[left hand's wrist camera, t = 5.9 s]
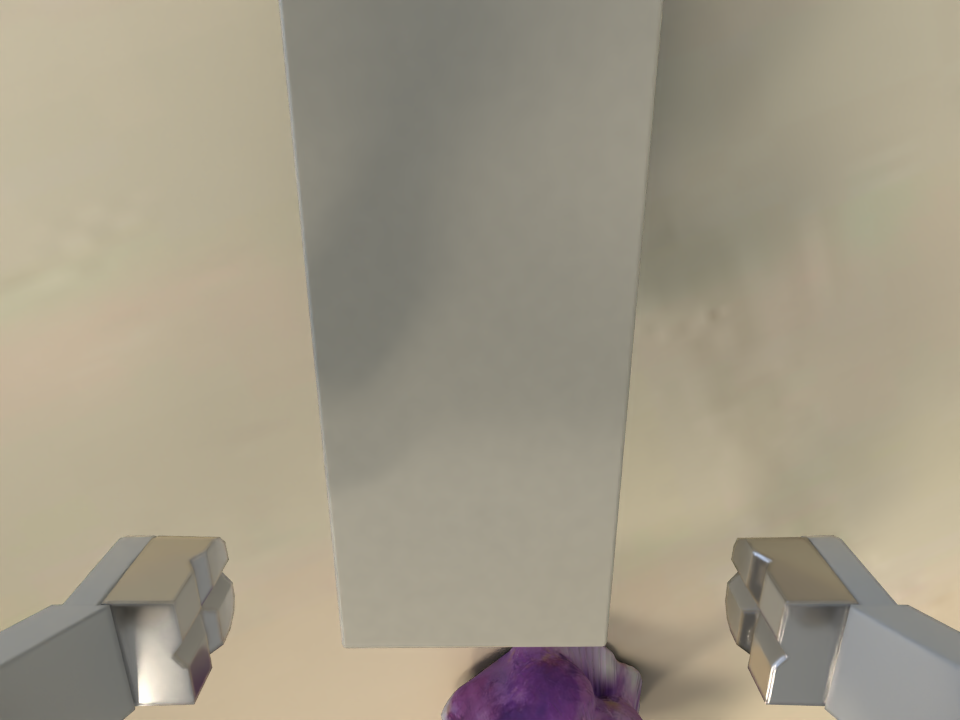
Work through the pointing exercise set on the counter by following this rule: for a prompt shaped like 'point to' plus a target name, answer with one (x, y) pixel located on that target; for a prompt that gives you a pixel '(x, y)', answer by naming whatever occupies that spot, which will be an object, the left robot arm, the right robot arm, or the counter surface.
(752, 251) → the counter surface
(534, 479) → the bar
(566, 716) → the figurine
